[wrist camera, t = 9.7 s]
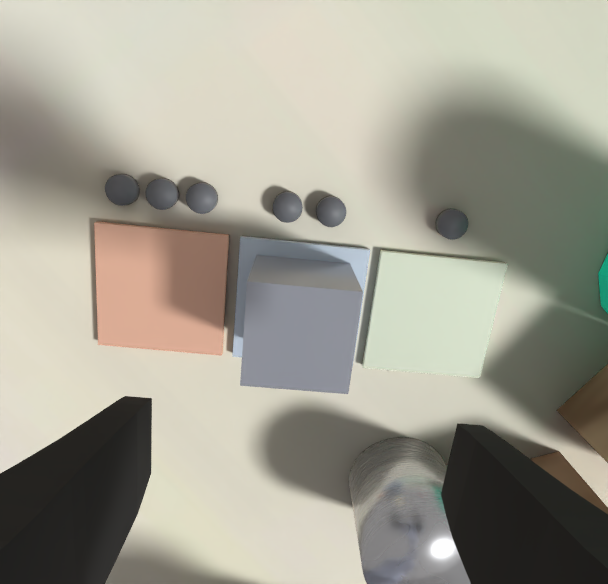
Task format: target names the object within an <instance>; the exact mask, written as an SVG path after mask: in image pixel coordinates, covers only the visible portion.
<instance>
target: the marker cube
mask: <svg viewBox="0 0 608 584" xmlns="http://www.w3.org/2000/svg"><path fill="white" fill-rule="evenodd" d="M362 296H363V291H362V289H361V286H360V284H359V282H358V280H357V278H356V275H355V273H354V271H353V269H352V267H351V264H350V263H341V262H331V261H320V260H309V259H299V258H288V257H277V256H267V255H256V257H255V260H254V263H253V266H252V269H251V271H250V274H249V277H248V280H247V290H246V305H245V320H244V335H243V351H242V366H241V381H240V385H241V386H253V387H266V388H278V389H291V390H303V391H316V392H328V393H341V394H348V392H349V385H350V378H351V371H352V364H353V357H354V351H355V344H356V337H357V330H358V323H359V316H360V309H361V303H362Z"/></svg>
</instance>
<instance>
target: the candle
mask: <svg viewBox="0 0 608 584" xmlns="http://www.w3.org/2000/svg"><path fill="white" fill-rule="evenodd" d="M598 277H599V289H600V302H601V306H602V308H603V309H604V310H605V311H606V312H607V313H608V254H607V256H606V258H605V260H604V262H603V265H602V267H601V269H600V271H599V273H598Z"/></svg>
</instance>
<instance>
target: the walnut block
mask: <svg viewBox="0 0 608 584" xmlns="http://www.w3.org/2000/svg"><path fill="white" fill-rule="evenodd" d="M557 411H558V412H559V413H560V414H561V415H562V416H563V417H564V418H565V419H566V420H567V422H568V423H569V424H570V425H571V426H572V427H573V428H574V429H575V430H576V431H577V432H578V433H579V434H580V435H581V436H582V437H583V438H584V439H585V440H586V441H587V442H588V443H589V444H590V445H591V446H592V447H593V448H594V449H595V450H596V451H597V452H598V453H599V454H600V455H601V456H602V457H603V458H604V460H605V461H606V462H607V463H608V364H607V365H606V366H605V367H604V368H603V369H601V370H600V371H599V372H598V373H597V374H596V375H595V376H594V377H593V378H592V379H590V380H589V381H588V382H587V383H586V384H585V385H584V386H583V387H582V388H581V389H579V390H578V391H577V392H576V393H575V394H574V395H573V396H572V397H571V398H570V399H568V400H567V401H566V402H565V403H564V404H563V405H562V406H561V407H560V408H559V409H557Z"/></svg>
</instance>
